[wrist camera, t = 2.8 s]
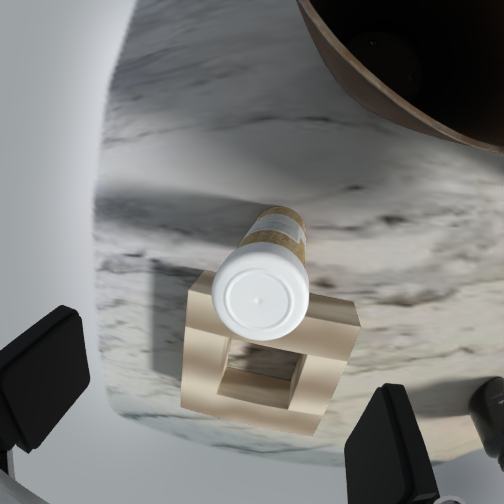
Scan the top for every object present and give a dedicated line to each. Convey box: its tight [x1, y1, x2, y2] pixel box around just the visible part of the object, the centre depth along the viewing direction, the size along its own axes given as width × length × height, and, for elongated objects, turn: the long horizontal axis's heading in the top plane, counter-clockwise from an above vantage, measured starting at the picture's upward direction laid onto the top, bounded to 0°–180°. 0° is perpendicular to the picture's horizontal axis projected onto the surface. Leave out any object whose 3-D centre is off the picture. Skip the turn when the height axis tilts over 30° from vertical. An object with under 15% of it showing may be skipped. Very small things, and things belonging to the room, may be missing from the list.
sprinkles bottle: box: [212, 207, 309, 341], centre depth 20 cm, size 5×5×14 cm
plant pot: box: [296, 0, 504, 154], centre depth 13 cm, size 15×15×16 cm
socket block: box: [181, 270, 361, 436], centre depth 28 cm, size 14×14×4 cm
